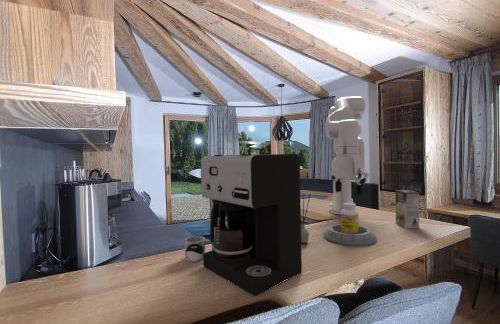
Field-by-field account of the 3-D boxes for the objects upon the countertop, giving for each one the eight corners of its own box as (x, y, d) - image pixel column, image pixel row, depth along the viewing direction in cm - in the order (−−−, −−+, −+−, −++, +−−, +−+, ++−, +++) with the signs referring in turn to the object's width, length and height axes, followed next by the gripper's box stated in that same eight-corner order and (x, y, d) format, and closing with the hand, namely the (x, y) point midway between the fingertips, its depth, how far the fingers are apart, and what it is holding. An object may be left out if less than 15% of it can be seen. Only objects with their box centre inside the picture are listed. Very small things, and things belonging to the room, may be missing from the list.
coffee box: (394, 223, 128) (394, 189, 127) (408, 222, 127) (408, 189, 127) (405, 228, 118) (405, 192, 118) (420, 228, 118) (420, 192, 118)
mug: (184, 263, 86) (184, 243, 86) (185, 255, 93) (185, 237, 93) (215, 260, 88) (215, 240, 88) (214, 253, 95) (214, 234, 95)
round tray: (313, 236, 111) (313, 227, 111) (343, 227, 122) (343, 220, 122) (356, 250, 94) (356, 240, 94) (386, 238, 105) (386, 229, 105)
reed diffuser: (315, 244, 101) (315, 191, 101) (303, 248, 97) (302, 193, 97) (295, 237, 110) (295, 189, 109) (283, 241, 105) (282, 191, 105)
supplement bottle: (338, 235, 108) (337, 203, 107) (345, 231, 113) (344, 201, 112) (354, 238, 103) (354, 205, 103) (361, 234, 108) (360, 203, 108)
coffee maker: (195, 263, 86) (191, 155, 85) (241, 248, 99) (239, 154, 98) (252, 297, 65) (249, 154, 64) (302, 272, 78) (300, 152, 77)
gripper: (324, 151, 112) (325, 191, 113) (362, 151, 98) (362, 197, 99) (336, 150, 116) (336, 189, 117) (373, 150, 102) (374, 194, 103)
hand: (348, 193), depth 108 cm, fingers open, 9 cm apart
